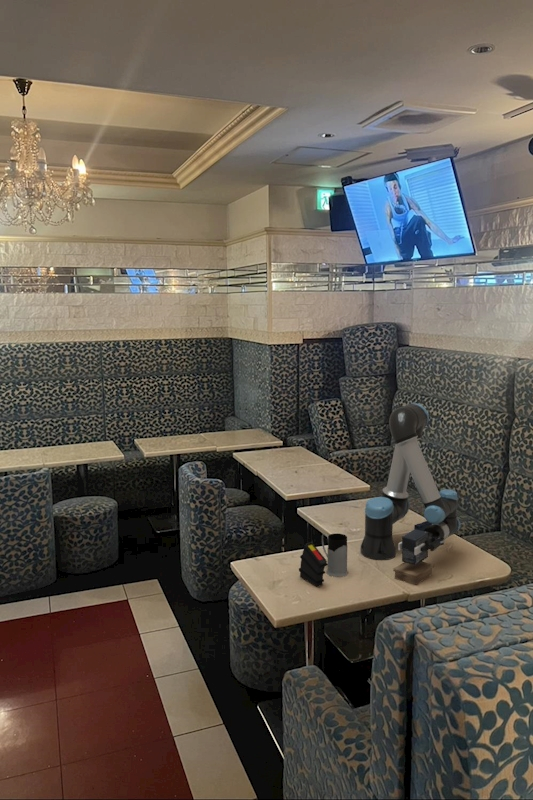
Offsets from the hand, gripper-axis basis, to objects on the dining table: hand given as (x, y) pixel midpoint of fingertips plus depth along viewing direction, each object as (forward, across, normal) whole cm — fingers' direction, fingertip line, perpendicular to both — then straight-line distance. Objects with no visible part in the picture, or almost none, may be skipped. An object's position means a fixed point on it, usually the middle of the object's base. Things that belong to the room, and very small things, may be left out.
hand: (407, 549), depth 238 cm
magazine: (+25, +26, -13) cm, 39 cm away
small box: (-6, 0, -6) cm, 9 cm away
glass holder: (+11, +27, -13) cm, 32 cm away
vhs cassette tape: (-42, +13, -13) cm, 46 cm away
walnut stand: (-6, 0, -13) cm, 14 cm away
